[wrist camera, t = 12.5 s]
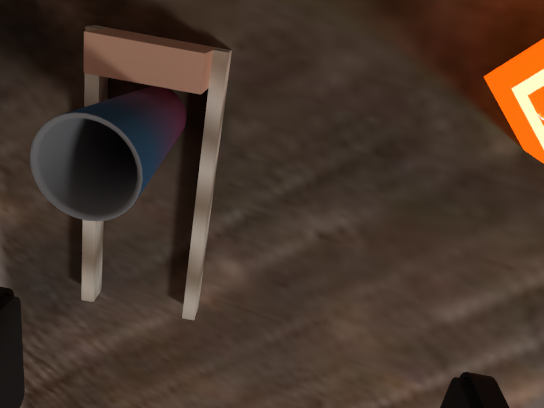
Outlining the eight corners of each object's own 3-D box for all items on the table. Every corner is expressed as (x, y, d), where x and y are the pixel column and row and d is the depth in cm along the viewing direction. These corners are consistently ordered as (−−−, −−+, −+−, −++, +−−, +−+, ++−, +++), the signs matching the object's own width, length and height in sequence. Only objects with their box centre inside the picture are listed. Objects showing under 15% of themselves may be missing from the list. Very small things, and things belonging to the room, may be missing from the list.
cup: (183, 66, 41) (119, 100, 27) (206, 143, 43) (157, 210, 29) (109, 85, 42) (10, 126, 28) (135, 158, 44) (56, 230, 30)
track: (95, 25, 40) (67, 28, 35) (231, 50, 40) (221, 56, 35) (89, 288, 50) (67, 317, 45) (198, 308, 50) (186, 339, 45)
